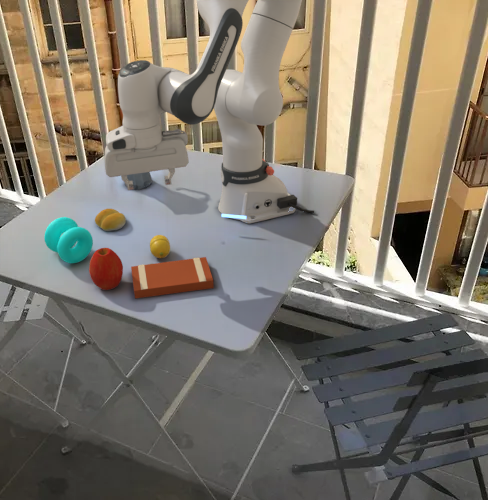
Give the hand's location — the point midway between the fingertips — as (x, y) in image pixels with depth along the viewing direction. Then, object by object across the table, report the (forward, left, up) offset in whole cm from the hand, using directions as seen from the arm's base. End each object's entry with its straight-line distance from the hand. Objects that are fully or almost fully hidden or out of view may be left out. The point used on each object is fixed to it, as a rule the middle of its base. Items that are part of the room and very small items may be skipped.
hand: (149, 186), depth 139 cm
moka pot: (+2, -41, -20) cm, 45 cm away
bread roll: (+12, -17, -20) cm, 28 cm away
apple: (+13, +12, -20) cm, 26 cm away
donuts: (+23, -3, -20) cm, 30 cm away
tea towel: (-2, +14, -19) cm, 24 cm away
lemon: (0, +2, -19) cm, 19 cm away
